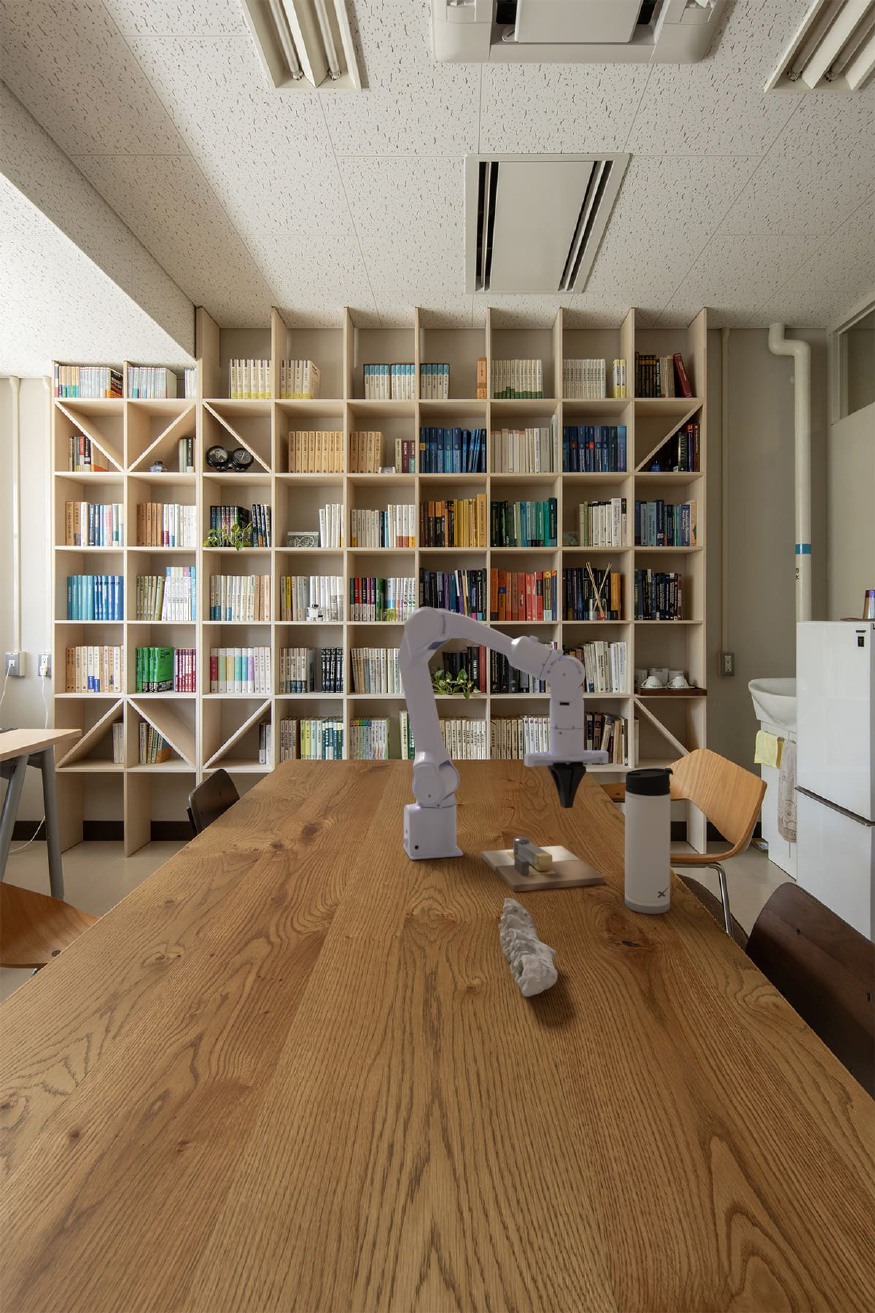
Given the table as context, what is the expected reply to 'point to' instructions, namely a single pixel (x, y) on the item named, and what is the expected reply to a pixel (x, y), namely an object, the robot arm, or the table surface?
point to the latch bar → (532, 853)
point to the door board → (528, 877)
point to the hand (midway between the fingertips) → (566, 806)
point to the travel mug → (647, 840)
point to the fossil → (526, 950)
